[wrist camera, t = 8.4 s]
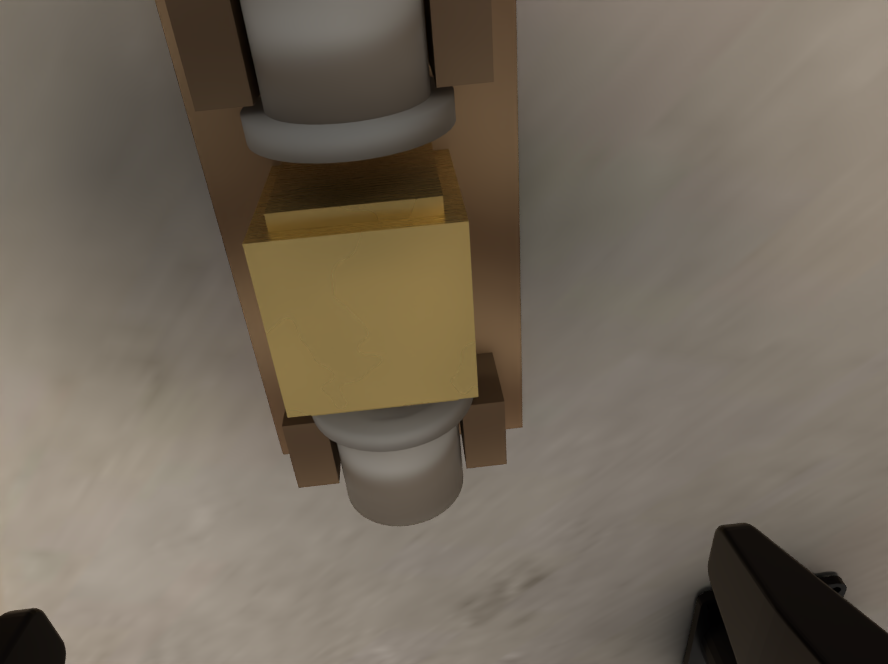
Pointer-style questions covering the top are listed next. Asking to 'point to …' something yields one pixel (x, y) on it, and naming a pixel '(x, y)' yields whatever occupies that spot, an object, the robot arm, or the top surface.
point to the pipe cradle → (359, 138)
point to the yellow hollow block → (365, 282)
